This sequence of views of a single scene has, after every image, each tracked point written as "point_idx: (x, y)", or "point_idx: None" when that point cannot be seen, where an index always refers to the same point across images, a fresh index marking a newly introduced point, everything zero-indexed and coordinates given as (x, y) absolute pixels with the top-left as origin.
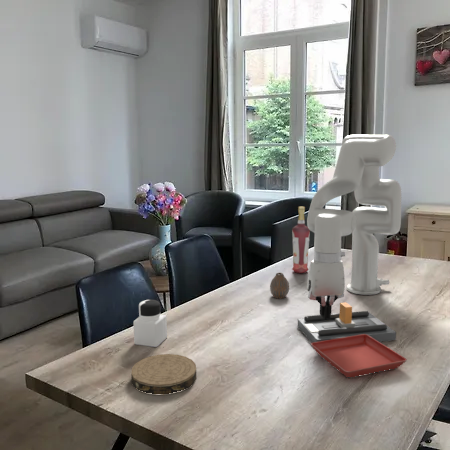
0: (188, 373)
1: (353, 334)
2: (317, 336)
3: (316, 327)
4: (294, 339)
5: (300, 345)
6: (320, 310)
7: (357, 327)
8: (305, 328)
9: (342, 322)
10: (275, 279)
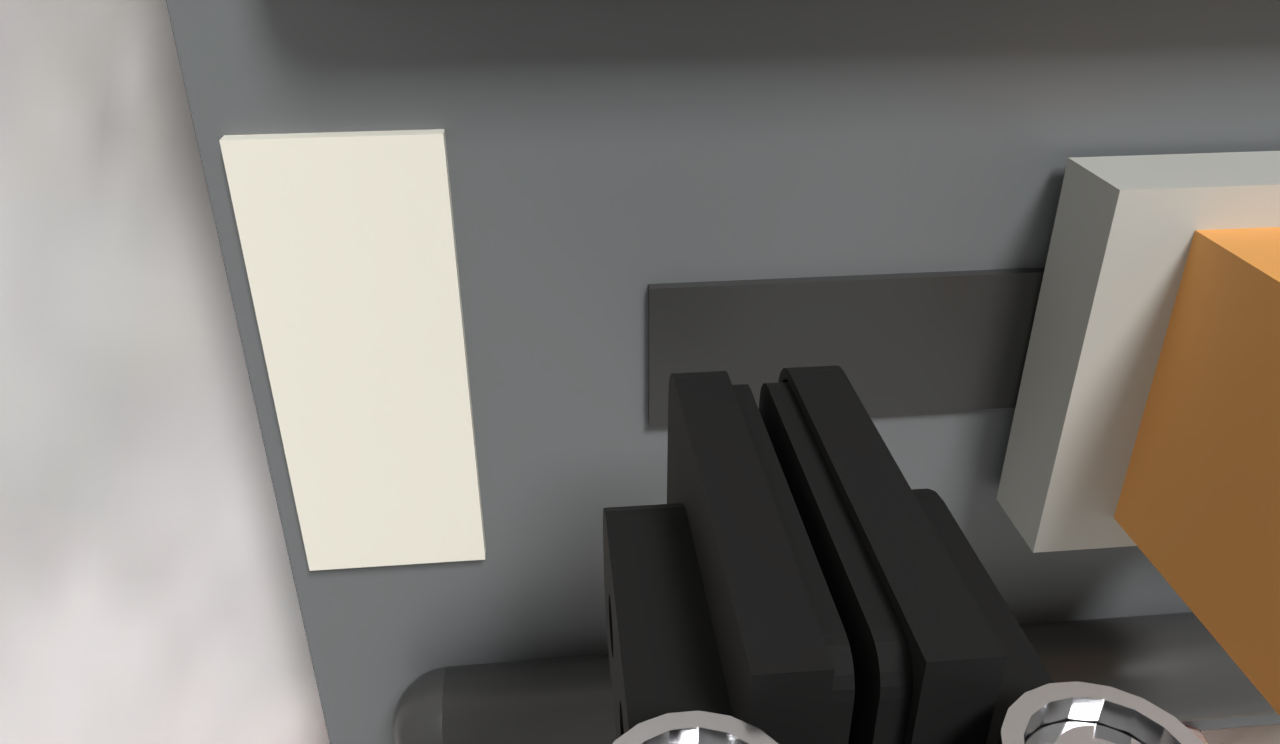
0: None
1: None
2: (387, 701)
3: (497, 340)
4: (19, 358)
5: (114, 579)
6: (615, 627)
7: (1194, 716)
8: (238, 276)
9: (1104, 457)
10: None
